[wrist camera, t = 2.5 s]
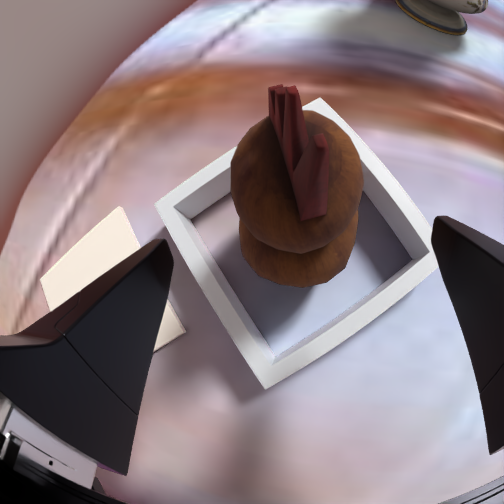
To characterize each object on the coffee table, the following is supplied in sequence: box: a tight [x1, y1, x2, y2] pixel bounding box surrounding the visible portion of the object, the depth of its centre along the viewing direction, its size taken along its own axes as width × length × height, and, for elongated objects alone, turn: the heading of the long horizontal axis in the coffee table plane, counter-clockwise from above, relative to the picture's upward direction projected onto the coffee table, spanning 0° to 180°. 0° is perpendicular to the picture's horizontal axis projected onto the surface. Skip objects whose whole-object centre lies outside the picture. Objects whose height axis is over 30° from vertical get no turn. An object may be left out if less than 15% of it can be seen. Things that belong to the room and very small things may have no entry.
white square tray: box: [154, 98, 438, 390], centre depth 18 cm, size 13×13×3 cm
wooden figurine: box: [230, 84, 364, 288], centre depth 12 cm, size 7×6×15 cm
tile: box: [40, 206, 186, 352], centre depth 21 cm, size 11×11×1 cm
